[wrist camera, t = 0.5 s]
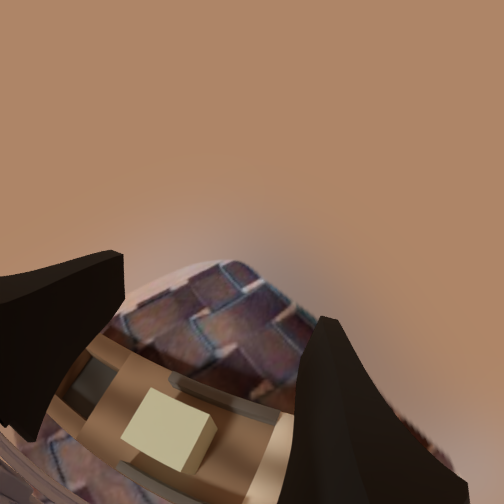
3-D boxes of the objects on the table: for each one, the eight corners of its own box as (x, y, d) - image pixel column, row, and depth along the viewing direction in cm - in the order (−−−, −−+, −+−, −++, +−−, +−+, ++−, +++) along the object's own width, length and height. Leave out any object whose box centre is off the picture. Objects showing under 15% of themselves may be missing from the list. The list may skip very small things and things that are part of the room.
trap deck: (298, 538, 13) (307, 548, 10) (48, 409, 20) (25, 394, 17) (336, 432, 21) (351, 421, 18) (98, 338, 29) (82, 316, 26)
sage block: (194, 475, 16) (180, 472, 13) (143, 449, 18) (120, 438, 14) (217, 428, 20) (209, 414, 16) (167, 406, 21) (150, 387, 18)
